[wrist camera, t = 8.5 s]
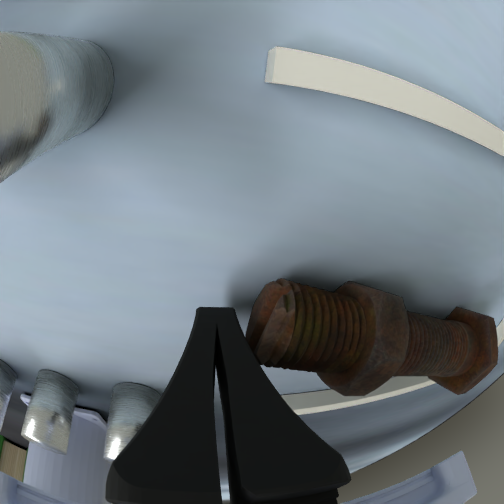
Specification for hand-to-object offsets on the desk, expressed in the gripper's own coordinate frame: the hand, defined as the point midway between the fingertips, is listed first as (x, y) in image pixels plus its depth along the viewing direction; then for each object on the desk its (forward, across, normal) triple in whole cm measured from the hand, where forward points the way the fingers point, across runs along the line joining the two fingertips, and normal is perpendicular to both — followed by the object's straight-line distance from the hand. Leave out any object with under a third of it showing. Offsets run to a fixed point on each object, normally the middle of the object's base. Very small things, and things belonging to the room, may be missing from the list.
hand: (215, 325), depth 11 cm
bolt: (+2, -9, +1) cm, 9 cm away
